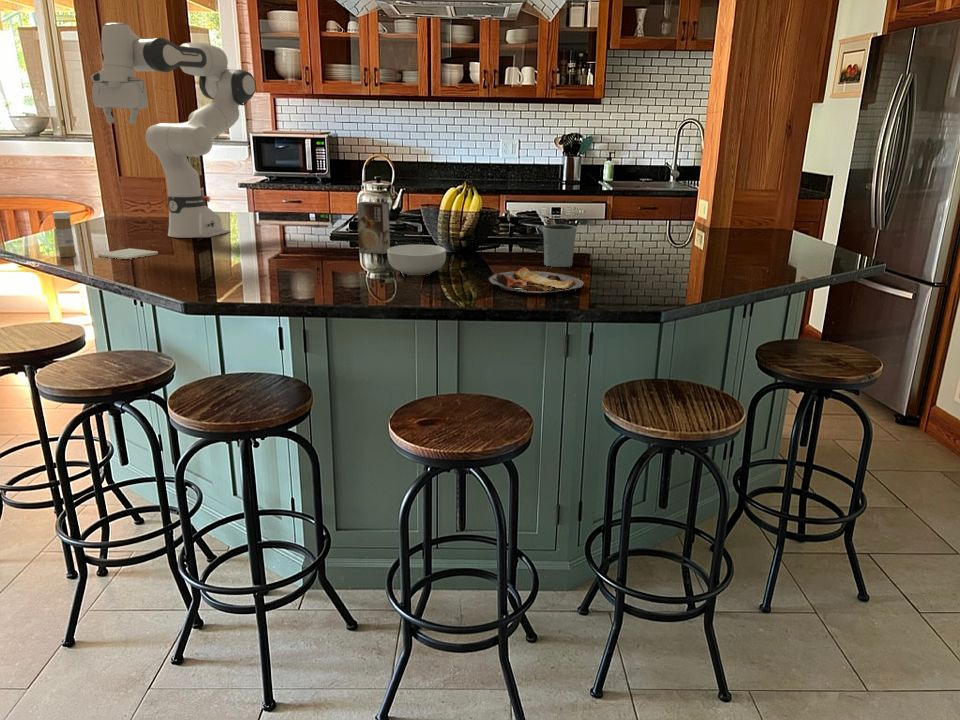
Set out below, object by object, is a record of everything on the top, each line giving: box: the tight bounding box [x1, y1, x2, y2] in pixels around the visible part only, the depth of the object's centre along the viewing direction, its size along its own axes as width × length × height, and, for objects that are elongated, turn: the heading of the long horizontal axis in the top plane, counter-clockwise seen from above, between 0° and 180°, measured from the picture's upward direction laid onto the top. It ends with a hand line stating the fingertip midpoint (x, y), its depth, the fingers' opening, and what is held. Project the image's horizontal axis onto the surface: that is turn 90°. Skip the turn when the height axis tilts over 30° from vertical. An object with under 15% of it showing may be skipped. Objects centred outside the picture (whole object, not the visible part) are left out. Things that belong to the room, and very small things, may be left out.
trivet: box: [97, 247, 159, 260], centre depth 223 cm, size 12×12×1 cm
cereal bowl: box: [386, 244, 447, 276], centre depth 205 cm, size 17×17×7 cm
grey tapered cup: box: [542, 223, 578, 268], centre depth 220 cm, size 10×10×12 cm
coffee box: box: [356, 201, 391, 255], centre depth 236 cm, size 9×6×16 cm
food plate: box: [487, 266, 584, 295], centre depth 192 cm, size 25×23×4 cm
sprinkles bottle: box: [52, 210, 77, 258], centre depth 218 cm, size 5×5×13 cm
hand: (121, 123), depth 230 cm, fingers open, 8 cm apart
